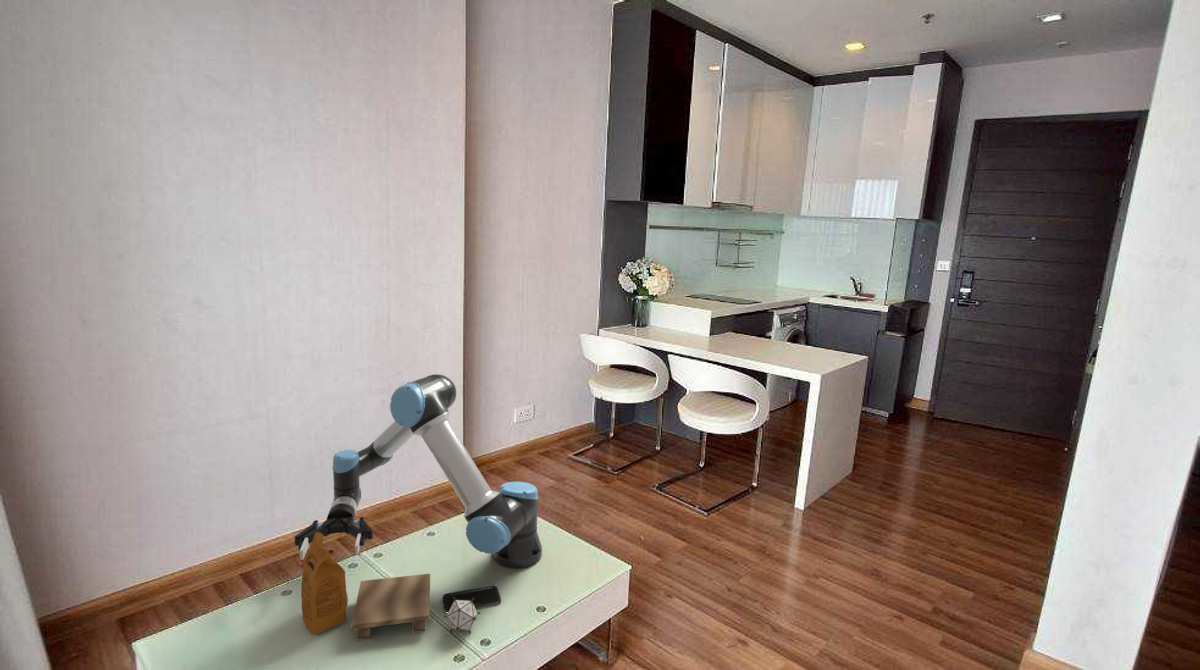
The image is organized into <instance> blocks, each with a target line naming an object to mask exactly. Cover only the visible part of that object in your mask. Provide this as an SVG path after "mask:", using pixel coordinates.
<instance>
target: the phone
mask: <svg viewBox="0 0 1200 670" xmlns="http://www.w3.org/2000/svg"><path fill="white" fill-rule="evenodd" d="M453 597H455V599H456V600H472V598H474V600H473V601H472V602H473V604H474V606H475V608H476V610H477V609H483V607H484V608H488V607H493V606H498V605H501V603H502V599H501V594H500V592H499V588H498V587H497V585H488V586H482V587H478V588H476V587H475V588H472V589H471V588H470V589H466V590H465V589H464V590H460V591H454V592H447V593H444V594H443V595H442V604H443V603H444V605H443V609H444V610H445V611H446V612H448V611H449V609H450V607H451V606H452V604H453V602H454V599H453ZM445 611H444V612H445Z"/></svg>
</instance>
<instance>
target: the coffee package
mask: <svg viewBox="0 0 1200 670" xmlns="http://www.w3.org/2000/svg"><path fill="white" fill-rule="evenodd" d="M323 539H324V536H323V534H321V533H320V532H316V533H315V535H314V538H313V540H312V543H310V544H309V545H310V546H309V547H308V550H307V552H306V555H305V558H304V559H305V560H304V563H303V571H302V576H301V585H300V586H301V587H300V591H301V592H300V593H301V599H300V600H301V614H302V620H303V621H302V622H303V623H304V626H305V627H306V629H308V630H309V632H310V633H311V634H312V635H319V634H320V633H323V632H325V631H327V630H329V629H331V628H333V627H337V626H339V625H341V624H343V623H344V622H346V621H347V618H348V617H347V615H348V613H347V608H348V600H349V599H348V598H349V597H348V592H347V583H346V571H345V569H344V568H343V567H342V566H341V565H340V564H339V563H338V562H337V561H336V560H335V559H333V557H332V556H331V555H333V554H335V550H334V549H332V548H330V547H327V546H323Z"/></svg>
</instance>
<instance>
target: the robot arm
mask: <svg viewBox="0 0 1200 670" xmlns="http://www.w3.org/2000/svg"><path fill="white" fill-rule="evenodd" d="M456 398H457V389H456V385H455V383H454V382H453V380H452V379H450V378H449V377H448V376H446V375H443V374H437V373H434V374H430V375H427V376H425V377H423V378H422V377H421V378H418V379H416V380H412V381H409V382H407V383H405V384H403V385H401V386H399V387H397V388H396V389H395V390H394V391H393V394H392V395H391V398H390V403H389V408H390V410H389V411H390V413H391V416H392V418H393V420H394V421H393V422H392V423H391V424H390V425H389V426H388V427H387V428H386V429H384V431H383V432H382V433H381V434H379V436H378V437H377V438H375V439H374V440H373V441H372V442H371V444H370V445H368V446H367V447H365V448H363V449H361V450H359V451H357V450H354V449H345V450H340V451H338V452H336V453H335V454H333V457H332V475H333V501H332V504H331V507H330V509H329V511H328V513H327V517H326V520H325V521H323V522H319V520H316V519H315V520H313V522H312V523H311V524H310V525H309V526H307V527H305V528H304V529H303V530H302V531H300V532H299V533H298V534H296V535H295V536H294V546H297V547H298V551H299V560H300V561H304V559H305V558H306V555H307V553H308V550H309V548H310V546H309V545H311V543H312V540H313V538H314V535H315V533H316V532H320V533H321V534H323V537H328V536H329V535H331V534H343V533H344V534H346V535H350V536H352V537H354V538H356V541H355V544H354V556H359V552H360V547H364V546H365V544H366V540H369V541H370V540H373V539H374V534H373V533H374V532H373V531H374V530H373V529H372V528H371V527H370V526H369V525H368V523H367V522H366V521H365V517H364V516H360V517H359V518H358V519H356V520H355V518H356V513H357V511H358V508H359V503H360V501H361V499H362V490H361V487H360V477H361V476H363V475H365V474H367V473H369V472H371V471H373V470H375V469H377V468H379V467H381V466H383V465H385V464H387V463H388V462H390V461H391V460H392V459H393V457H394V454H395V453H396V452H397V451H398V450H399V449H401V447H402V446H404V445H405V443H407V442H408V441H409V440H410V439H411V438H412V437H414V436H419V437H421V438H422V439H423V441H424V443H425V444H426V446H427V447H428V449H429V450H430V453H431V454H432V456H433V458H434V460H435V461H436V463H437V464H438V465H439V468H440V469H441V470H442V472H443V474H444V475H445V477H446V479H447V480H448V482H449V483H450V485H451V487H452V488H453V490H454V492H455V493H456V495H457V496H458V498H459V500H460V501H461V503H462V504H463V506H464V513H463V517H464V518H465V520H466V522H467V524H466V527H465V537H466V538H467V540H468V542H469V545H470V546H472V547H473V548H474V549H475V550H477V551H478V552H481V553H485V554H492V557H493V560H494V561H495V562H496V563H497V564H499V565H500V566H502V567H504V568H510V569H521V568H522V569H523V568H527V567H530V566H532V565H535V564H536V563H538V562H539V561H540V560H541V558H542V556H543V545H542V543H541V539H540V536H539V533H538V510H539V509H538V508H539V506H538V505H539V491H538V488H537V487H536V486H535V485H534V484H532V483H530V482H525V481H507V482H506V483H505V482H504V483H503V484H502V485H501V486H500V488H499V490H498V491H497V490H496V491H495V490H492V489H491V488H490V486H489V483H487V481H486V479H485V478H484V476H483V474H482V473H481V471H480V470H479V467H477V465H476V463H475V461H474V460H473V458H472V457H471V455H470V454H469V451H468V450H467V448H466V447H465V446H464V443H463V442H462V441H461V439H460V437H459V436H458V434H457V432H456V430H455V429H454V427H453V425H452V424H451V423H450V421H449V417H450V411H449V409H450V407H452V406H453V404H454V403H455V401H456Z"/></svg>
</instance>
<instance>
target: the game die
mask: <svg viewBox="0 0 1200 670" xmlns="http://www.w3.org/2000/svg"><path fill="white" fill-rule="evenodd" d="M453 599H454V602H453V604H452V606H451V607H450V609H449V611H448V613H447V614H446V615H443V616H442V618H443V619H445V618H446V621H447V623H448V624H449V626H450V630H449V633H452V632H453V631H454V630H455V631H456V632H459V631H468V633H469V634H471V633H472V631H471V629H472V626H473V624H474V622H475V621H477V616H478V615H481V612H480V611H478V610H477V609H476V608H475V606H474V604H473V602H472V601H473V600H474V598H472V600H456V599H455V597H453Z"/></svg>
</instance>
